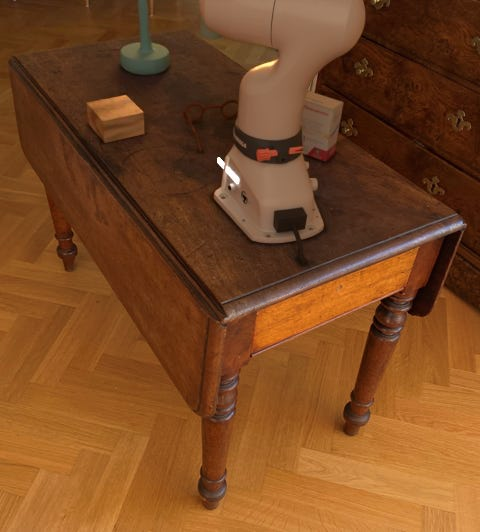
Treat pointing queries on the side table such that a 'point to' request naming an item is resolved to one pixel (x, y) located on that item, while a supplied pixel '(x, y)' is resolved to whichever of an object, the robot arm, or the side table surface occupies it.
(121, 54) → the mug tree
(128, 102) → the block
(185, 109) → the glasses
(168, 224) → the side table surface
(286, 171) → the robot arm
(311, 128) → the ink box
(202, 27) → the tumbler
